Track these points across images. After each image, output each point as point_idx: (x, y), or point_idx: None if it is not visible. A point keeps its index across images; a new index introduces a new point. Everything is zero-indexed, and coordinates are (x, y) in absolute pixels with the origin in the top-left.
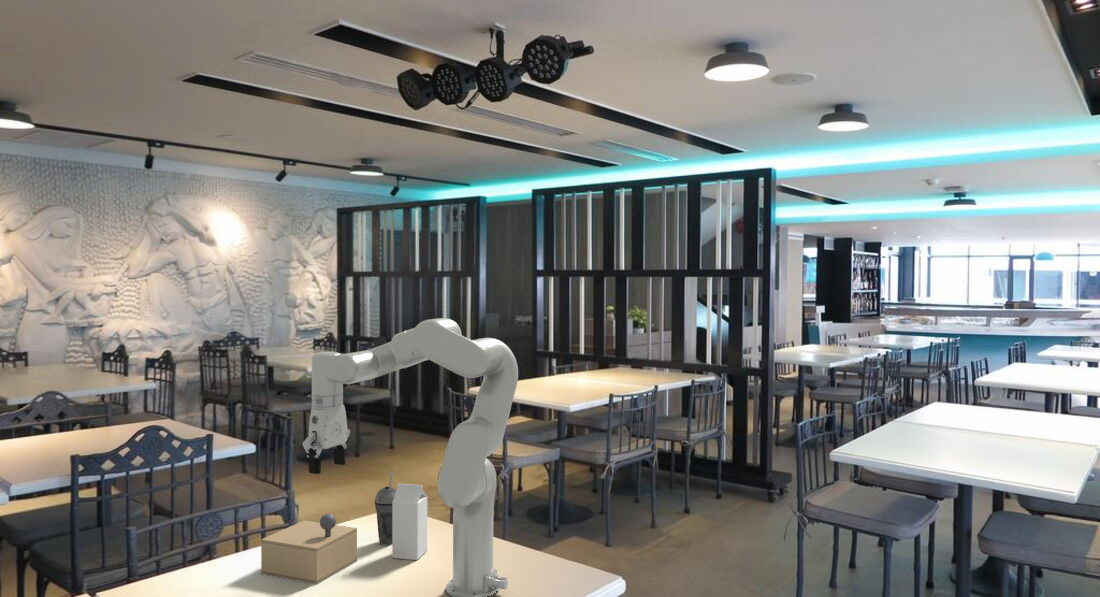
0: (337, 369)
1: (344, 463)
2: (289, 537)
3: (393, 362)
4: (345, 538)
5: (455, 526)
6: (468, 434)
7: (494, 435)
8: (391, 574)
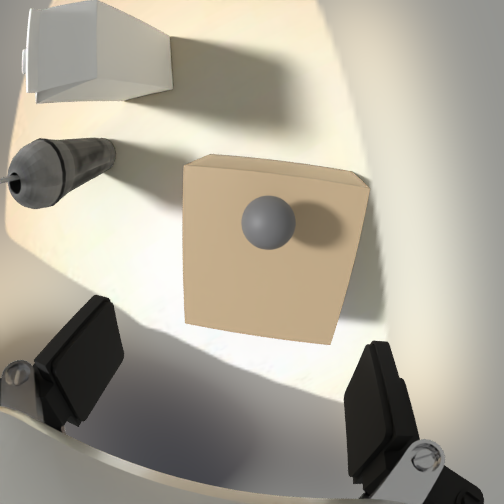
0: None
1: (99, 298)
2: (305, 298)
3: None
4: (241, 167)
5: None
6: None
7: None
8: (257, 43)
